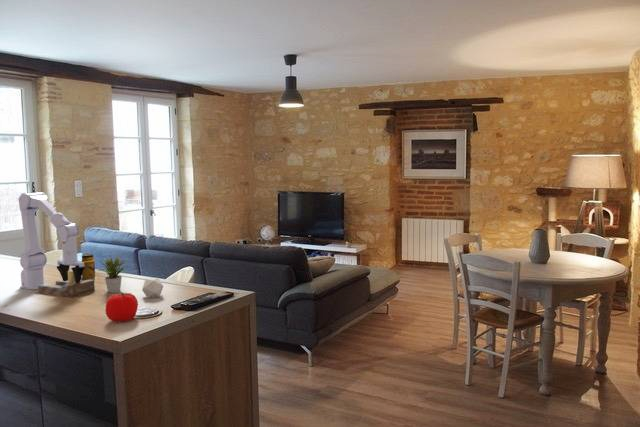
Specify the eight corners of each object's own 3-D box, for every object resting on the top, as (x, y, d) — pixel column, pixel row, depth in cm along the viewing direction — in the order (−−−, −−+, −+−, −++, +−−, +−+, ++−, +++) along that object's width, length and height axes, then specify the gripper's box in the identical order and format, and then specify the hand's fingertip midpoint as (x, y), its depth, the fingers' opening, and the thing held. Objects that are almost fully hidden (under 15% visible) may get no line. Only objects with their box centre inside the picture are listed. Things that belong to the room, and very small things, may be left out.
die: (162, 294, 232) (148, 277, 231) (170, 288, 226) (156, 270, 226) (148, 305, 226) (134, 287, 225) (156, 298, 220) (142, 280, 220)
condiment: (97, 279, 260) (96, 255, 258) (78, 281, 255) (77, 257, 254) (94, 276, 266) (93, 252, 264) (76, 278, 261) (74, 254, 260)
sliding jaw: (61, 290, 232) (60, 272, 231) (74, 286, 238) (73, 269, 237) (69, 291, 230) (68, 273, 229) (82, 287, 236) (81, 270, 235)
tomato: (122, 327, 186) (121, 298, 185) (98, 323, 191) (96, 295, 189) (146, 317, 197) (145, 290, 196) (123, 314, 201) (121, 287, 200)
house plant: (128, 294, 230) (127, 257, 228) (95, 296, 227) (92, 259, 225) (133, 286, 244) (131, 251, 242) (101, 288, 241) (99, 253, 239)
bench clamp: (37, 292, 235) (36, 281, 234) (60, 286, 246) (59, 275, 245) (72, 297, 226) (71, 286, 225) (94, 291, 236) (94, 280, 236)
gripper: (50, 251, 231) (52, 282, 233) (73, 254, 225) (75, 285, 227) (64, 249, 238) (66, 278, 239) (87, 251, 232) (89, 281, 233)
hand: (71, 281), depth 233 cm, fingers open, 7 cm apart
